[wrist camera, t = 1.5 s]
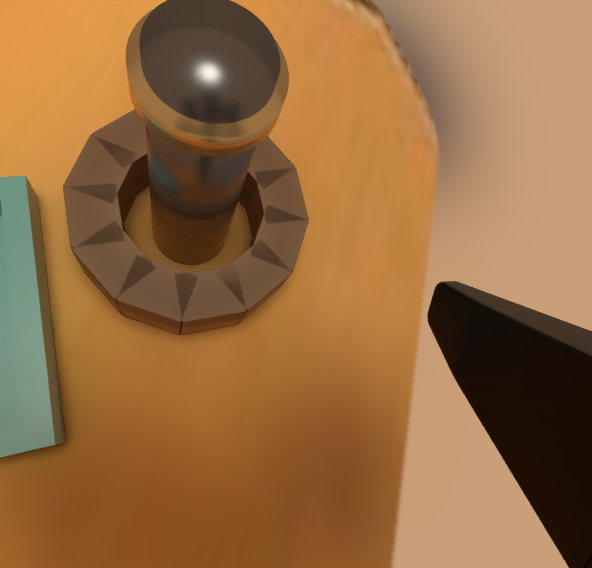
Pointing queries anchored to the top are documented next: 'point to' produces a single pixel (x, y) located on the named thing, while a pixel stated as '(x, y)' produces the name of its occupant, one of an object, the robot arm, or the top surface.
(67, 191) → the socket
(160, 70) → the steel pin
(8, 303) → the tray
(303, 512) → the top surface
